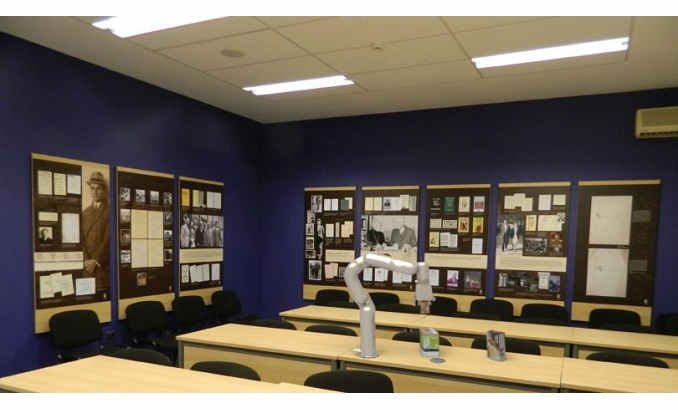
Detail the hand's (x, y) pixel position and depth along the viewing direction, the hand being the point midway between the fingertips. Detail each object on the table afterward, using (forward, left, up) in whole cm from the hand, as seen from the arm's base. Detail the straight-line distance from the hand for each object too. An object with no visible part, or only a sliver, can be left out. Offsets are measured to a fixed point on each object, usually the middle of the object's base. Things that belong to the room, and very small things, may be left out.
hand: (424, 311), depth 272 cm
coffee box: (+41, -9, -28) cm, 50 cm away
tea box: (+3, +5, -28) cm, 29 cm away
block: (0, 0, -1) cm, 1 cm away
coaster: (+5, -10, -28) cm, 30 cm away
